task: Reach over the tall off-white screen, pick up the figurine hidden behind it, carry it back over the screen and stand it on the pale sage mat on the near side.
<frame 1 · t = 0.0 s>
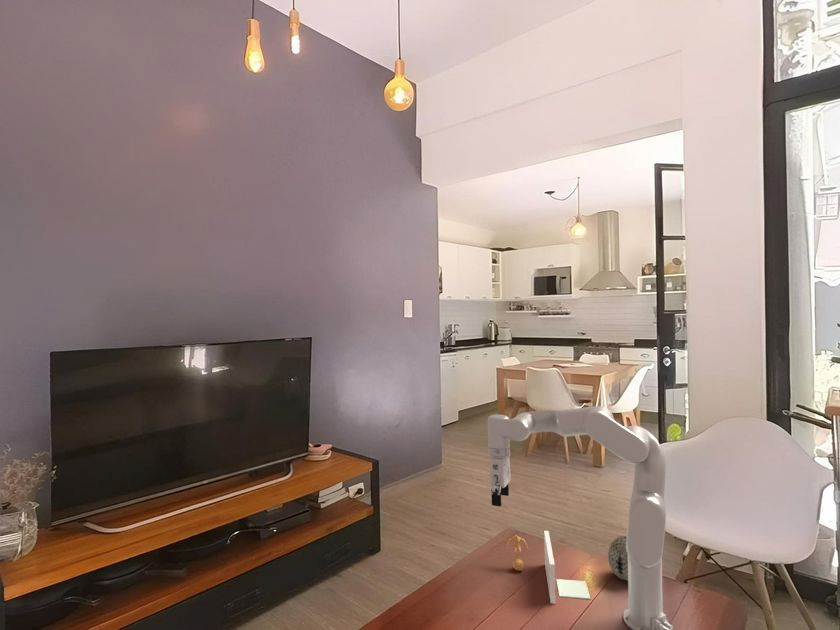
hand: (500, 500, 165), 31 cm above the table, tool pointing down, fingers open, 9 cm apart
screen: (549, 582, 169), on the table
figurine: (517, 568, 178), on the table
mat: (572, 589, 164), on the table
decorative egg: (626, 579, 170), on the table
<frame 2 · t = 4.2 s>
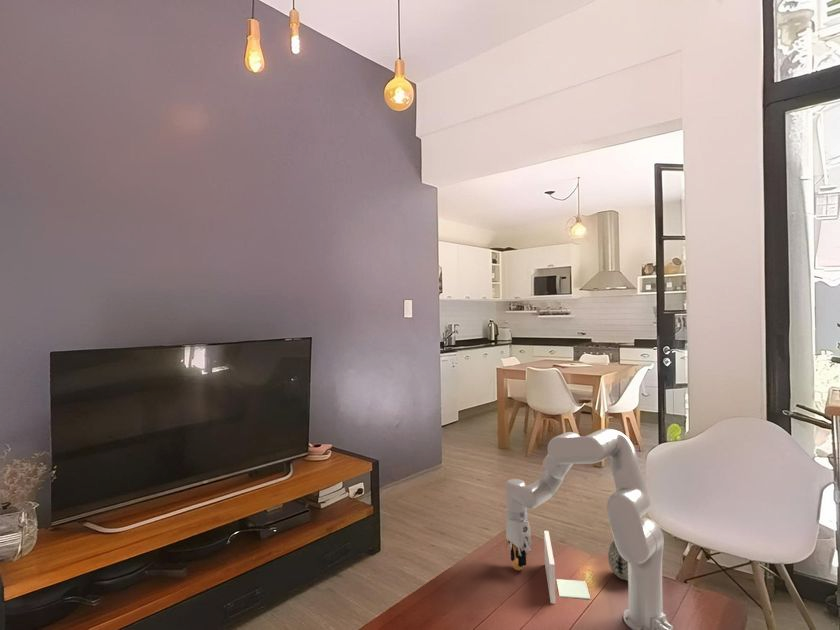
hand: (518, 562, 178), 3 cm above the table, tool pointing down, fingers closed on figurine, 3 cm apart
figurine: (517, 568, 179), on the table, touching gripper
everything else where it was.
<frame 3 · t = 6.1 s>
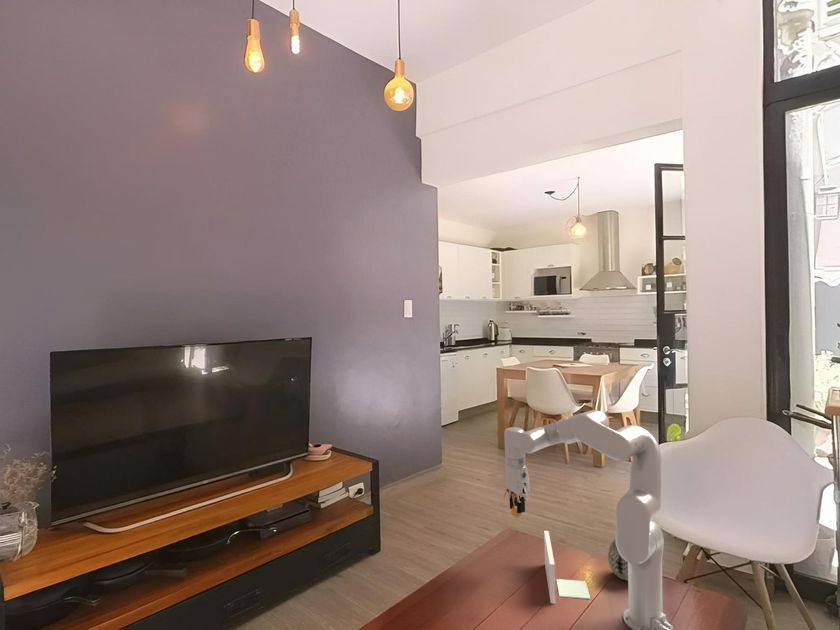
hand: (517, 509, 178), 22 cm above the table, tool pointing down, fingers closed on figurine, 3 cm apart
figurine: (516, 516, 179), point 19 cm above the table, touching gripper
everything else where it was.
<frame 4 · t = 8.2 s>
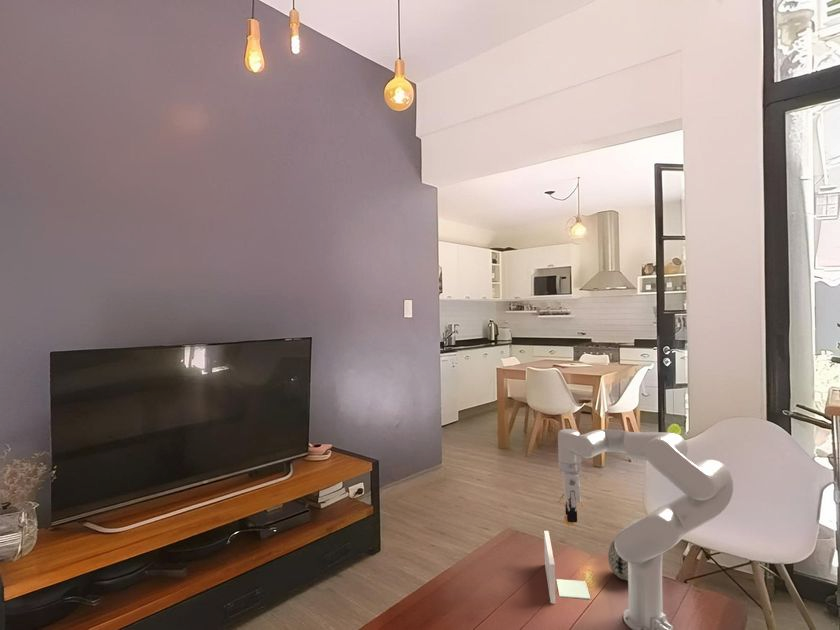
hand: (571, 518, 164), 25 cm above the table, tool pointing down, fingers closed on figurine, 3 cm apart
figurine: (571, 525, 165), point 22 cm above the table, touching gripper
everything else where it was.
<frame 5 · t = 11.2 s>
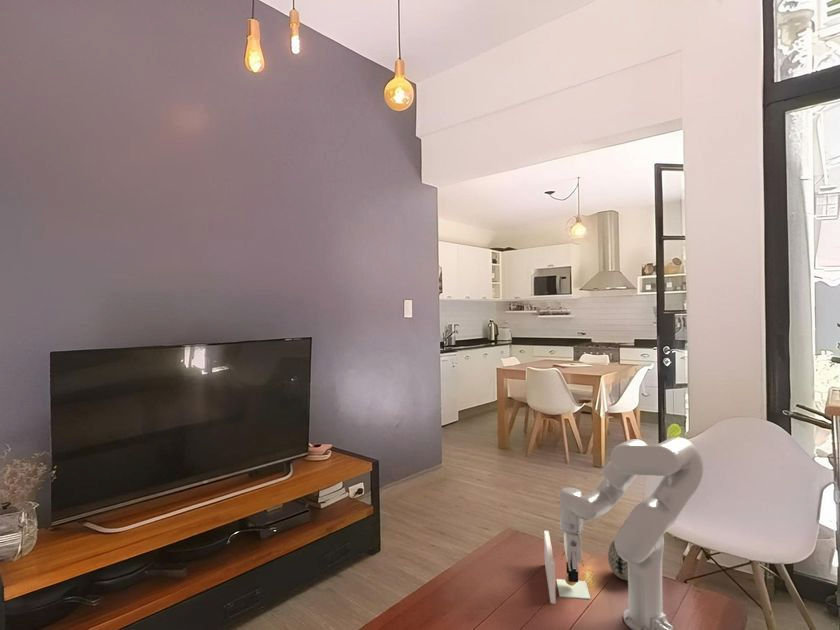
hand: (572, 577, 164), 4 cm above the table, tool pointing down, fingers closed on figurine, 3 cm apart
figurine: (571, 583, 165), point 1 cm above the table, touching gripper
everything else where it was.
when the fingers open (3 cm above the table, at t = 12.4 s): figurine stays where it is, resting on mat.
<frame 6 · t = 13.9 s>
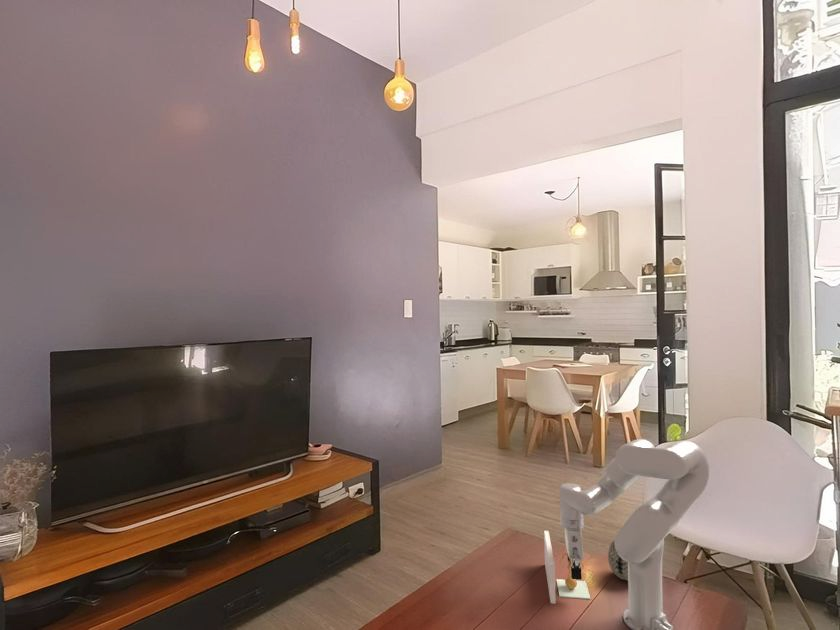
hand: (574, 571, 164), 7 cm above the table, tool pointing down, fingers open, 9 cm apart
figurine: (572, 587, 165), resting on mat
everything else where it was.
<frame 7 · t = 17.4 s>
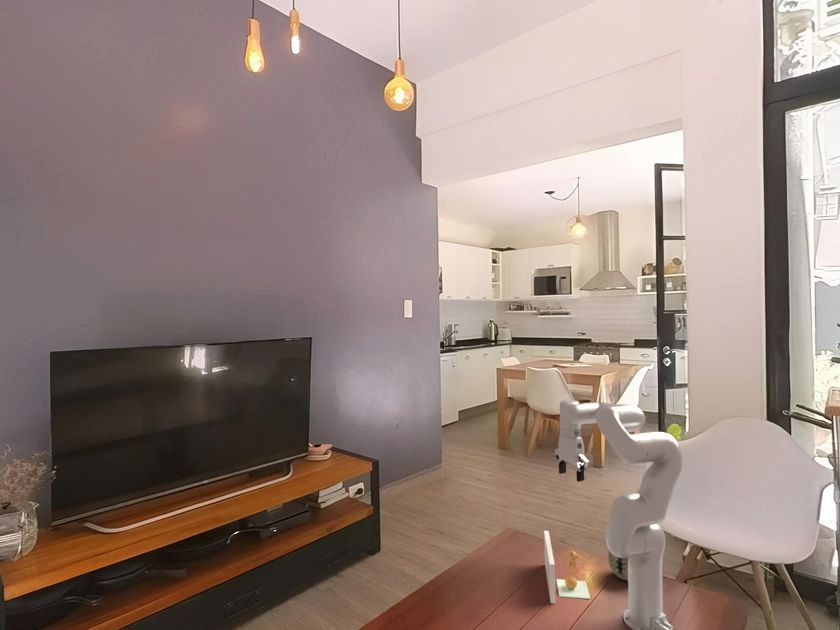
hand: (571, 476, 183), 32 cm above the table, tool pointing down, fingers open, 9 cm apart
nothing on the table moved.
at the end: figurine inside the target area on the mat (1.1 cm from its centre), point 0.2 cm above the mat's base; figurine tilted 0°; the gripper is holding nothing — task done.
